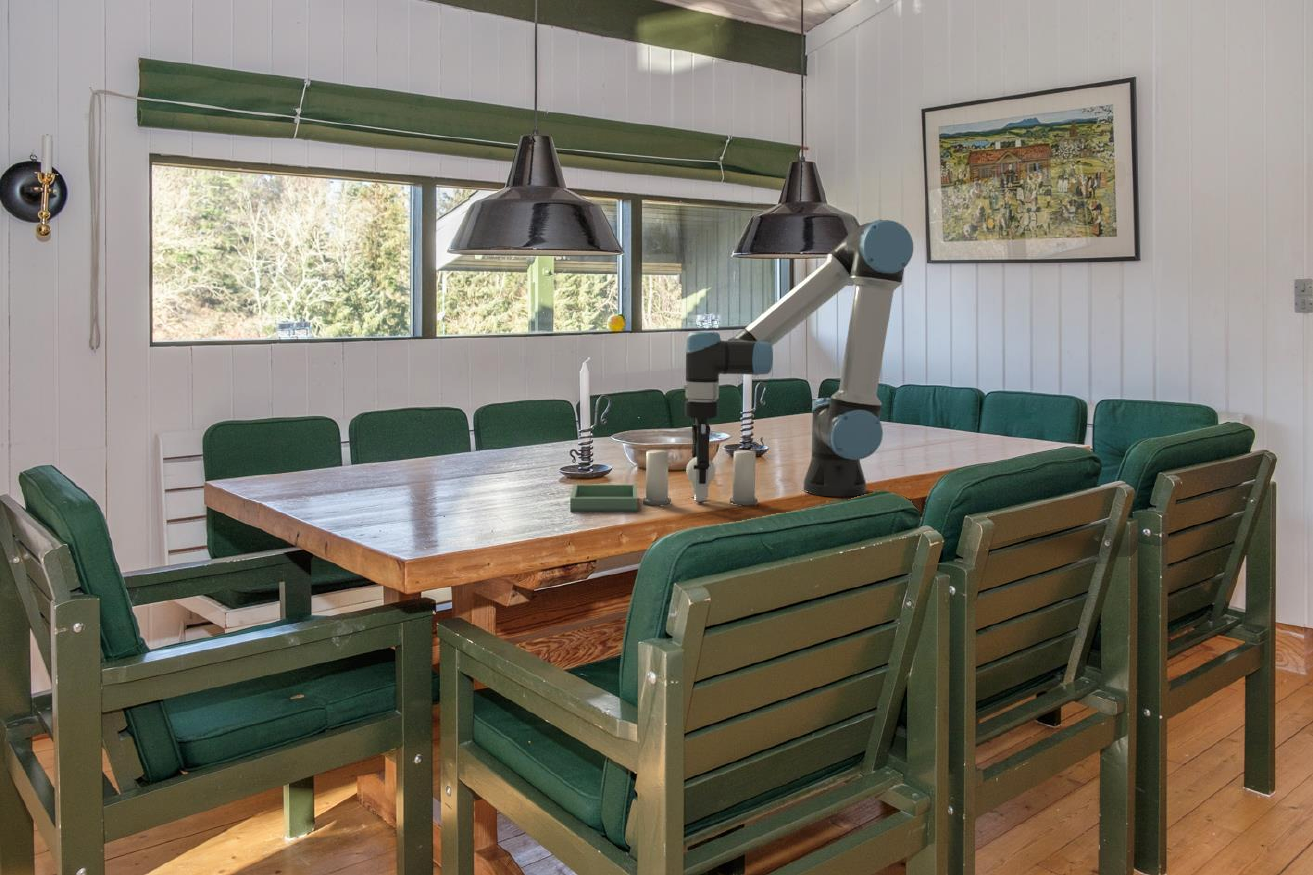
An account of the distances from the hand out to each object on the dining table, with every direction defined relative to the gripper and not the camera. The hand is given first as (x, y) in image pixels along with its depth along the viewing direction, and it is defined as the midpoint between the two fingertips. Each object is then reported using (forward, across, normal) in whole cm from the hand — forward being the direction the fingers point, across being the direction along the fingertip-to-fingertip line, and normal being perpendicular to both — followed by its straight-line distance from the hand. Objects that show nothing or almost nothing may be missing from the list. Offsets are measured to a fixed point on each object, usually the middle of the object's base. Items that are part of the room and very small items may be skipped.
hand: (699, 492), depth 248 cm
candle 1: (+3, 0, -10) cm, 10 cm away
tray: (+3, +1, -22) cm, 22 cm away
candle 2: (+2, 0, +10) cm, 11 cm away
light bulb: (+3, 0, 0) cm, 3 cm away
